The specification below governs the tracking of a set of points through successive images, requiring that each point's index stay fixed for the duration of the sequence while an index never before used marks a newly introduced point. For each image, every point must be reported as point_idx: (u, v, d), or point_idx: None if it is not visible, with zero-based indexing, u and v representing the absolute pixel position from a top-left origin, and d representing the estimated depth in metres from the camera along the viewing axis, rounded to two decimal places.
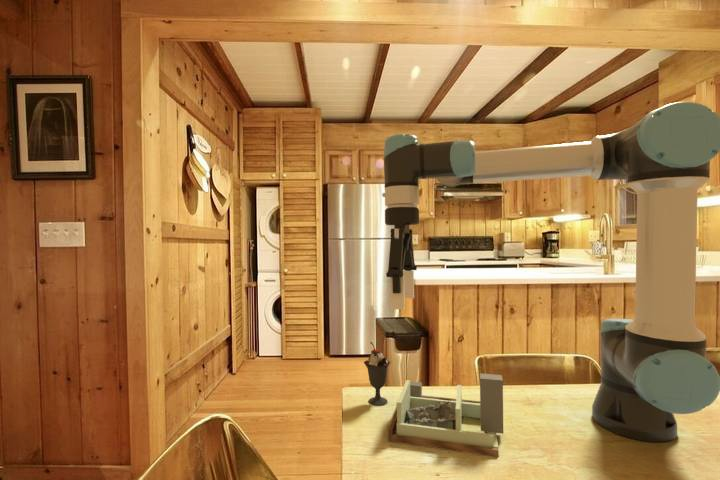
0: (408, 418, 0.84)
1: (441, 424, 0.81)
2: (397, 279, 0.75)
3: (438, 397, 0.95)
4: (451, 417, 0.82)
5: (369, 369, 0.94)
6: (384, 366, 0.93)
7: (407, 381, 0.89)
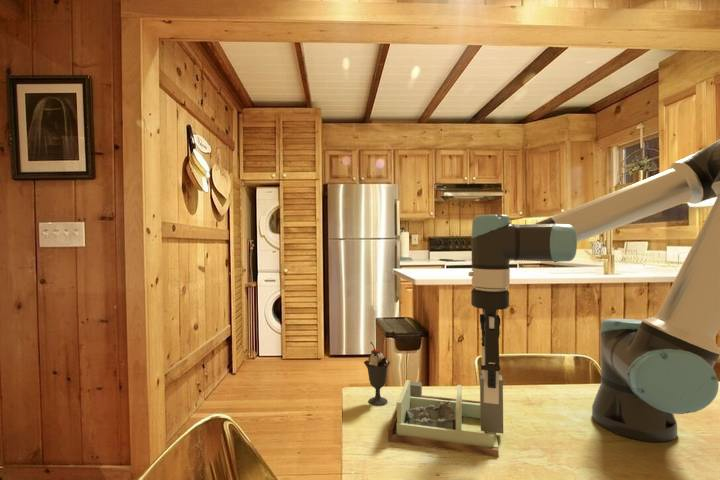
0: (408, 418, 0.84)
1: (441, 424, 0.81)
2: (493, 373, 0.71)
3: (438, 397, 0.95)
4: (451, 417, 0.82)
5: (369, 369, 0.94)
6: (384, 366, 0.93)
7: (407, 381, 0.89)
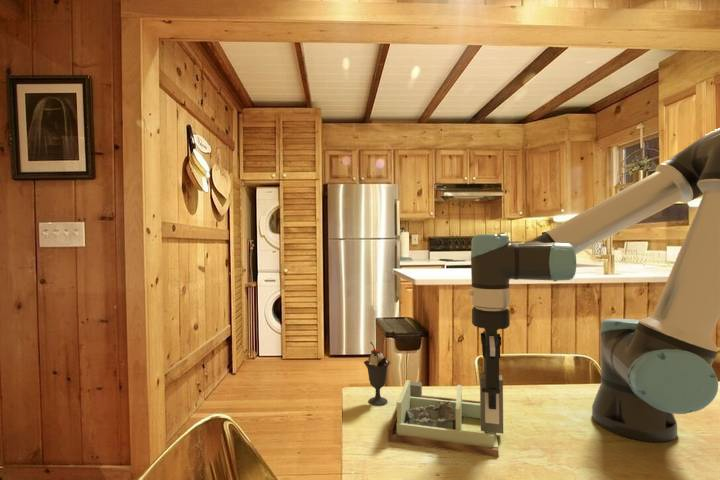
0: (408, 418, 0.84)
1: (441, 424, 0.81)
2: (493, 395, 0.76)
3: (438, 397, 0.95)
4: (451, 417, 0.82)
5: (369, 369, 0.94)
6: (384, 366, 0.93)
7: (407, 381, 0.89)
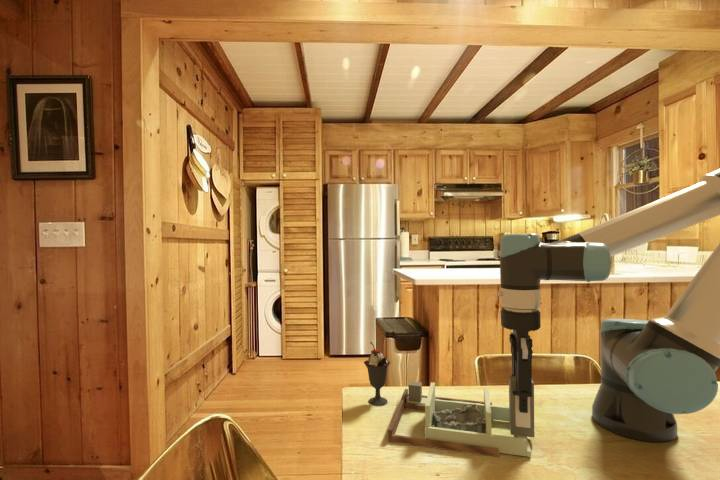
0: (435, 421, 0.82)
1: (469, 428, 0.79)
2: (525, 399, 0.74)
3: (438, 397, 0.95)
4: (479, 420, 0.81)
5: (369, 369, 0.94)
6: (384, 366, 0.93)
7: (432, 383, 0.88)
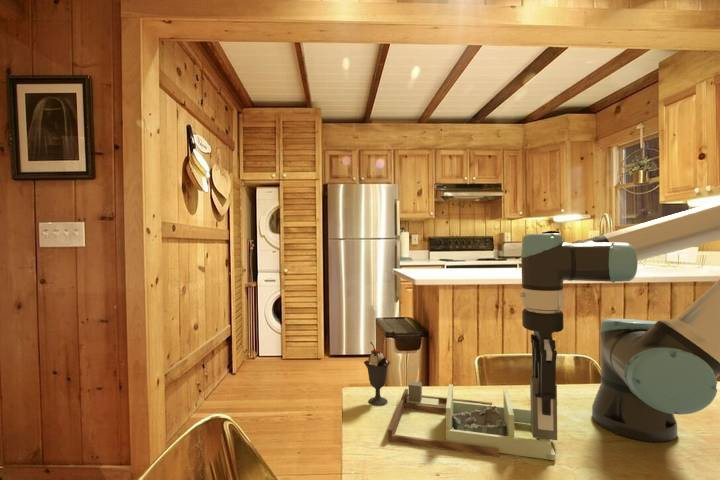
0: (454, 424, 0.81)
1: (490, 430, 0.78)
2: (548, 401, 0.73)
3: (438, 397, 0.95)
4: (500, 423, 0.79)
5: (369, 369, 0.94)
6: (384, 366, 0.93)
7: (450, 385, 0.87)
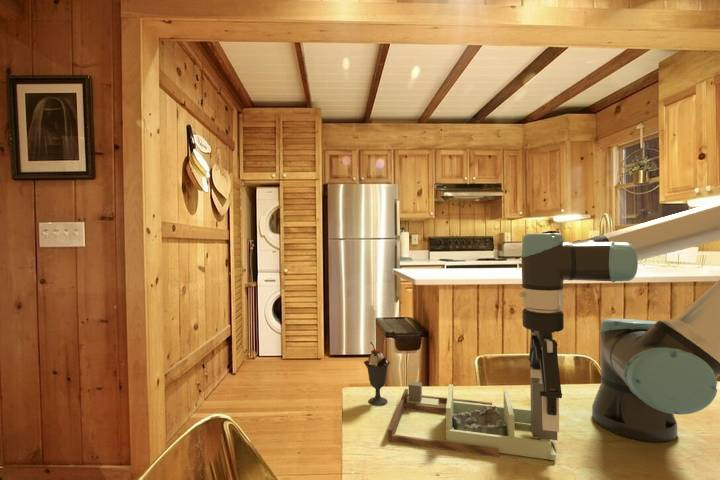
0: (454, 424, 0.81)
1: (490, 430, 0.78)
2: (554, 400, 0.68)
3: (438, 397, 0.95)
4: (500, 423, 0.79)
5: (369, 369, 0.94)
6: (384, 366, 0.93)
7: (450, 385, 0.87)
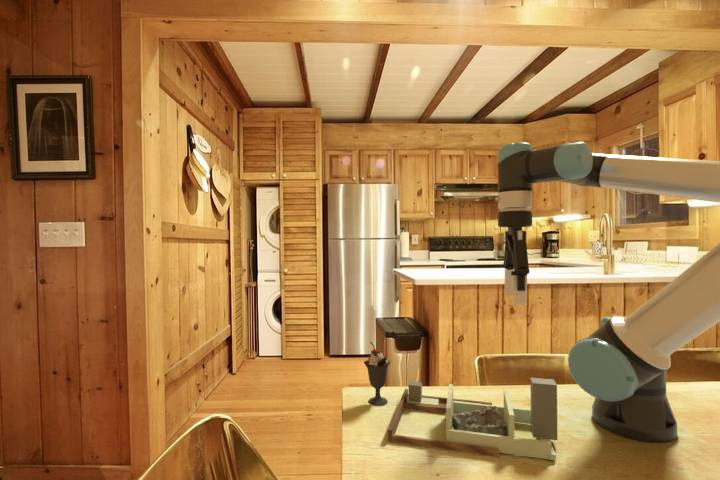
0: (454, 424, 0.81)
1: (490, 430, 0.78)
2: (522, 277, 0.81)
3: (438, 397, 0.95)
4: (500, 423, 0.79)
5: (369, 369, 0.94)
6: (384, 366, 0.93)
7: (450, 385, 0.87)
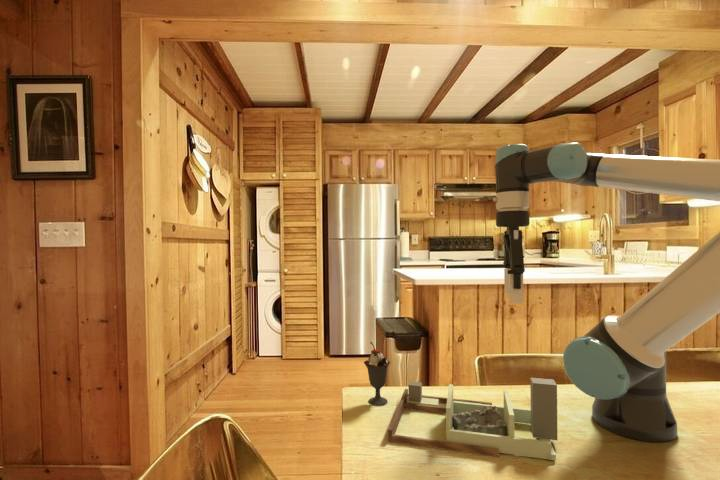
0: (454, 424, 0.81)
1: (490, 430, 0.78)
2: (518, 276, 0.83)
3: (438, 397, 0.95)
4: (500, 423, 0.79)
5: (369, 369, 0.94)
6: (384, 366, 0.93)
7: (450, 385, 0.87)
